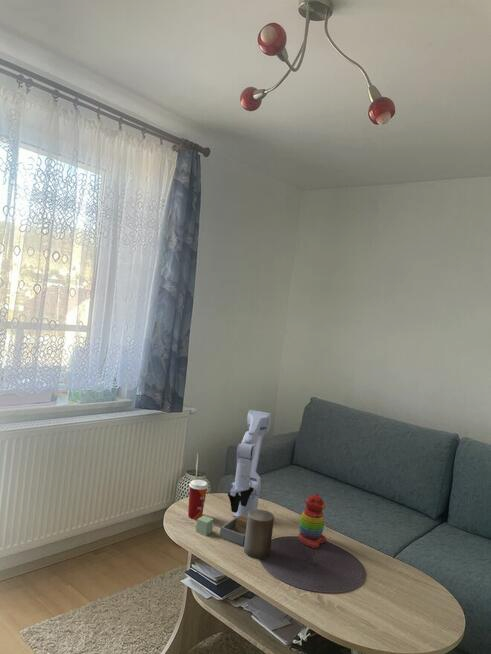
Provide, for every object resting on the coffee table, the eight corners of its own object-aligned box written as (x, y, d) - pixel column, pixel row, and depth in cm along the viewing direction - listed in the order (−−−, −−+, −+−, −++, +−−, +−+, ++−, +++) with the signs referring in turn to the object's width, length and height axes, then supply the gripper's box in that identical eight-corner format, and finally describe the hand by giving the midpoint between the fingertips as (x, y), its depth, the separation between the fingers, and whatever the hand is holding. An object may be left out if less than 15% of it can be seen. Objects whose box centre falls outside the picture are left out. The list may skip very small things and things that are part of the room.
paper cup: (203, 521, 192) (207, 487, 192) (184, 519, 193) (188, 484, 192) (205, 513, 200) (209, 480, 200) (187, 510, 200) (190, 477, 200)
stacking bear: (316, 550, 180) (322, 504, 180) (292, 540, 186) (298, 495, 185) (328, 540, 189) (333, 496, 188) (305, 531, 195) (310, 488, 194)
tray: (237, 525, 193) (238, 515, 193) (259, 533, 188) (260, 523, 188) (219, 537, 181) (220, 527, 181) (242, 546, 176) (243, 536, 176)
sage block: (202, 527, 187) (203, 515, 187) (212, 531, 185) (213, 518, 185) (195, 531, 183) (197, 519, 183) (205, 535, 181) (207, 522, 181)
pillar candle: (275, 555, 173) (280, 514, 173) (254, 561, 167) (259, 519, 167) (258, 543, 181) (262, 503, 180) (237, 548, 175) (242, 508, 174)
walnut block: (240, 526, 190) (241, 514, 190) (250, 530, 188) (251, 518, 188) (234, 530, 186) (236, 518, 186) (244, 534, 184) (246, 522, 184)
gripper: (242, 467, 194) (238, 500, 194) (224, 476, 181) (220, 511, 182) (258, 471, 191) (254, 505, 191) (241, 481, 178) (236, 517, 178)
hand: (238, 508), depth 186 cm, fingers open, 7 cm apart
